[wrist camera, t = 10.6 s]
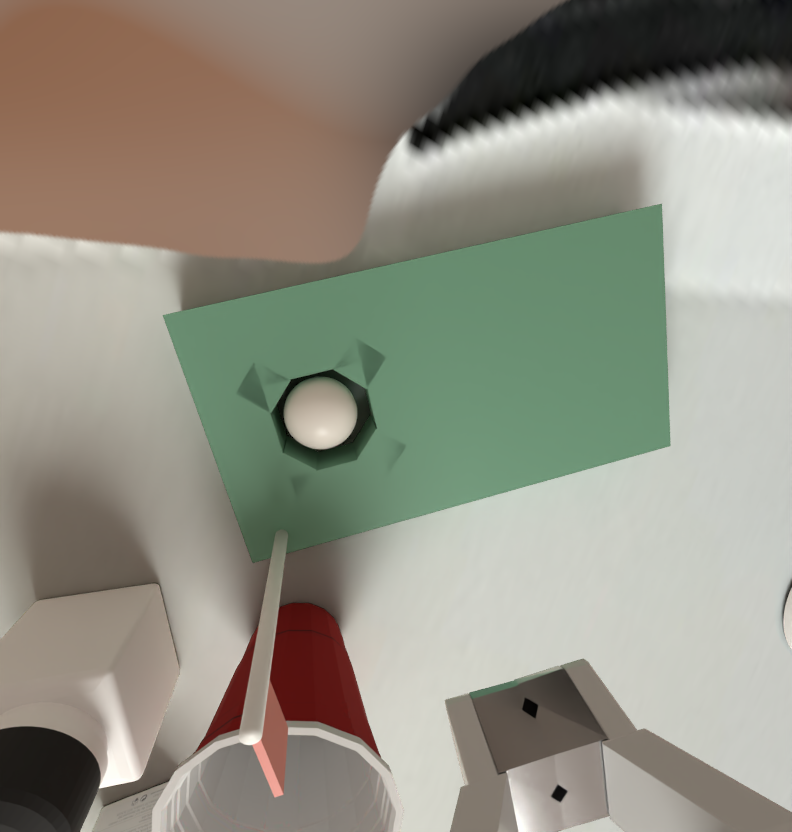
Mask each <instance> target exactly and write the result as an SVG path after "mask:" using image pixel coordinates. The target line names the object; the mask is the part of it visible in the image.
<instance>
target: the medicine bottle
mask: <svg viewBox="0 0 792 832" xmlns="http://www.w3.org/2000/svg"><path fill="white" fill-rule="evenodd" d="M179 675H180V669H179V664H178V660H177V656H176V652H175V648H174V644H173V640H172V636H171V632H170V628H169V623H168V619H167V615H166V611H165V607H164V603H163V599H162V595H161V591H160V587H159V585H158V584H155V583H152V584H145V585H139V586H132V587H125V588H118V589H111V590H105V591H98V592H91V593H84V594H77V595H71V596H64V597H57V598H50V599H44V600H39V601H36V602H35V603H34V604H33V605H32V606H31V607H30V608H29V609H28V610H27V611H26V612H25V613H24V615H23V616H22V617H21V618H20V619H19V620H18V621H17V622H16V623H15V624H14V625H13V627H12V628H11V629H10V630H9V631H8V632H7V633H6V634H5V635H4V636H3V637H2V638H1V640H0V832H80V830H81V828H82V825H83V823H84V821H85V819H86V816H87V814H88V812H89V810H90V807H91V805H92V803H93V801H94V798H95V796H96V794H97V792H98V789H99V788H104V787H109V786H113V785H118V784H123V783H128V782H133V781H136V780H138V779H140V777H141V776H142V775H143V773H144V770H145V767H146V765H147V762H148V759H149V756H150V754H151V751H152V748H153V746H154V743H155V740H156V737H157V735H158V732H159V729H160V726H161V724H162V721H163V718H164V715H165V713H166V710H167V707H168V705H169V702H170V699H171V696H172V694H173V691H174V688H175V685H176V683H177V680H178V677H179Z"/></svg>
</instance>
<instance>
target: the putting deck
mask: <svg viewBox="0 0 792 832" xmlns="http://www.w3.org/2000/svg"><path fill="white" fill-rule="evenodd" d="M163 317H164V320H165V323H166V326H167V328H168V331H169V334H170V337H171V339H172V342H173V345H174V348H175V350H176V353H177V356H178V359H179V361H180V364H181V367H182V370H183V372H184V375H185V378H186V381H187V383H188V386H189V389H190V392H191V394H192V397H193V400H194V403H195V405H196V408H197V411H198V414H199V416H200V419H201V422H202V425H203V427H204V430H205V433H206V436H207V438H208V441H209V444H210V447H211V449H212V452H213V455H214V458H215V460H216V463H217V466H218V469H219V472H220V474H221V477H222V480H223V483H224V485H225V488H226V491H227V494H228V496H229V499H230V502H231V505H232V507H233V510H234V513H235V516H236V518H237V521H238V524H239V527H240V529H241V532H242V535H243V538H244V540H245V543H246V546H247V549H248V551H249V554H250V557H251V560H252V562H253V563H255V562H258V561H262V560H265V559H269V558H271V561H270V567H269V572H268V577H267V583H266V588H265V594H264V599H263V605H262V610H261V616H260V621H259V627H258V632H257V638H256V643H255V649H254V654H253V660H252V665H251V671H250V676H249V682H248V687H247V693H246V698H245V704H244V709H243V715H242V720H241V726H240V731H239V740H240V742H241V743H243V744H245V745H252V746H253V748H254V750H255V753H256V755H257V757H258V760H259V762H260V764H261V767H262V769H263V772H264V774H265V776H266V779H267V781H268V783H269V786H270V788H271V790H272V793H273V795H274V798H275V797H278V796H281V795H283V794H284V781H285V767H286V753H287V739H288V726H287V723H286V721H285V718H284V715H283V713H282V710H281V708H280V705H279V702H278V700H277V697H276V695H275V692H274V689H273V687H272V684H271V682H270V672H271V664H272V656H273V648H274V641H275V633H276V625H277V617H278V610H279V602H280V594H281V586H282V579H283V571H284V563H285V555H286V554H287V553H290V552H294V551H297V550H301V549H304V548H308V547H312V546H315V545H319V544H322V543H326V542H329V541H333V540H337V539H340V538H344V537H347V536H351V535H354V534H358V533H362V532H365V531H369V530H372V529H376V528H379V527H383V526H386V525H390V524H394V523H397V522H401V521H404V520H408V519H411V518H415V517H419V516H422V515H426V514H429V513H433V512H436V511H440V510H444V509H447V508H451V507H454V506H458V505H461V504H465V503H469V502H472V501H476V500H479V499H483V498H486V497H490V496H493V495H497V494H501V493H504V492H508V491H511V490H515V489H518V488H522V487H526V486H529V485H533V484H536V483H540V482H543V481H547V480H551V479H554V478H558V477H561V476H565V475H568V474H572V473H576V472H579V471H583V470H586V469H590V468H593V467H597V466H600V465H604V464H608V463H611V462H615V461H618V460H622V459H625V458H629V457H633V456H636V455H640V454H643V453H647V452H650V451H654V450H658V449H661V448H665V447H668V446H670V420H669V392H668V364H667V335H666V307H665V278H664V250H663V222H662V204H658V205H654V206H650V207H645V208H641V209H636V210H632V211H627V212H623V213H618V214H614V215H609V216H605V217H600V218H596V219H591V220H587V221H582V222H578V223H573V224H569V225H565V226H560V227H556V228H551V229H547V230H542V231H538V232H533V233H529V234H524V235H520V236H515V237H511V238H506V239H502V240H497V241H493V242H488V243H484V244H480V245H475V246H471V247H466V248H462V249H457V250H453V251H448V252H444V253H439V254H435V255H430V256H426V257H421V258H417V259H412V260H408V261H403V262H399V263H394V264H390V265H386V266H381V267H377V268H372V269H368V270H363V271H359V272H354V273H350V274H345V275H341V276H336V277H332V278H327V279H323V280H318V281H314V282H309V283H305V284H301V285H296V286H292V287H287V288H283V289H278V290H274V291H269V292H265V293H260V294H256V295H251V296H247V297H242V298H238V299H233V300H229V301H224V302H220V303H216V304H211V305H207V306H202V307H198V308H193V309H189V310H184V311H180V312H175V313H171V314H166V315H163ZM332 369H334V370H335V371H336V372H338V373H340V374H342V375H343V376H345V377H347V378H348V379H350V380H352V381H353V382H355V383H357V384H359V385H360V386H362V387H364V388H365V391H366V395H367V399H368V404H369V408H370V412H371V415H370V416H369V418H368V419H367V421H366V422H365V424H364V426H363V427H362V429H361V430H360V432H359V433H358V435H357V437H356V438H355V440H354V441H353V443H350V444H346V445H342V446H338V447H335V448H331V449H327V450H323V451H319V452H317V451H315V450H313V449H312V448H309V447H306V446H304V445H302V444H300V443H299V442H298V441H296V440H294V439H293V438H291V437H289V436H286V432H285V429H284V426H283V423H282V419H281V416H280V413H279V409H278V406H277V402H278V401H279V399H280V397H281V396H282V394H283V392H284V391H285V389H286V387H287V386H288V384H289V382H290V380H291V379H295V378H299V377H303V376H307V375H311V374H315V373H319V372H323V371H327V370H332Z"/></svg>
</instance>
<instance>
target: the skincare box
mask: <svg viewBox="0 0 792 832" xmlns="http://www.w3.org/2000/svg"><path fill="white" fill-rule="evenodd" d="M167 784H168V782H166V783H164V784H161V785H158V786H156V787H153V788H151V789H148V790H145V791H143V792H140V793H138V794H135V795H133V796H130V797H127V798H125V799H122V800H120V801H117V802H115V803H112V804H110V805H107V806H105V807H103V808H102V810H101V812H100V814H99V817H98V819H97V821H96V824H95V826H94V828H93V831H92V832H152V810H153V808H154V806H155V804H156V803H157V801H158V799H159V798H160V796H161V794H162V793H163V791H164V789H165V787H166V786H167Z"/></svg>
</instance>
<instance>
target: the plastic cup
mask: <svg viewBox="0 0 792 832" xmlns="http://www.w3.org/2000/svg"><path fill="white" fill-rule="evenodd" d="M258 627H259V625H258ZM258 627H257V629H256V630H255V632H254V634H253V635H252V637H251V639H250V642H249V644H248V646H247V649H246V651H245V654H244V656H243V658H242V660H241V662H240V663H239V665H238V667H237V669H236V670H235V673H234V675H233V677H232V679H231V681H230V684H229V686H228V688H227V690H226V692H225V694H224V697H223V699H222V701H221V703H220V705H219V707H218V710H217V712H216V714H215V716H214V718H213V721H212V723H211V725H210V727H209V729H208V731H207V734H206V736H205V737H204V739H203V740H202V742H201V743H200V745H199V747H198V748H197V750H196V752H194V753H193V755H192V756H190V757H189V758H188V759H186V760H185V761H184V762H182V763H181V764H180V765H179V767H178V768H177V769H176V771H175V772H174V774H173V776H172V777H171V779H170V781H169V782H168V784H167V786H166V787H165V789H164V791H163V793H162V794H161V796H160V798H159V799H158V801H157V803H156V804H155V806H154V808H153V810H152V832H400V830H401V825H402V819H403V813H404V808H403V805H402V802H401V799H400V796H399V793H398V790H397V787H396V784H395V781H394V778H393V775H392V773H391V770H390V767H389V765H388V764H387V763H386V762H385V761H384V760H383V759H381V756H380V754H379V752H378V749H377V746H376V743H375V740H374V737H373V735H372V732H371V729H370V726H369V723H368V720H367V716H366V713H365V709H364V706H363V702H362V699H361V695H360V692H359V688H358V685H357V681H356V678H355V674H354V671H353V667H352V665H351V662H350V659H349V656H348V653H347V651H346V648H345V645H344V641H343V638H342V635H341V632H340V629H339V626H338V624H337V623H336V621H335V619H334V618H333V617H332V616H331V615H330V614H329V613H328V612H327V611H326V610H325V609H323V608H321V607H318V606H316V605H313V604H310V603H291V604H288V605H285V606H282V607H279V610H278V617H277V625H276V633H275V641H274V648H273V656H272V664H271V672H270V682H271V684H272V687H273V689H274V692H275V695H276V697H277V700H278V702H279V705H280V708H281V710H282V713H283V715H284V718H285V721H286V723H287V726H288V739H287V753H286V767H285V781H284V794H283V795H281V796H278V797H275V798H274V795H273V793H272V790H271V788H270V786H269V783H268V781H267V779H266V776H265V774H264V772H263V769H262V767H261V764H260V762H259V760H258V757H257V755H256V753H255V750H254V748H253V746H252V745H245V744H243V743H241V742H240V740H239V731H240V726H241V720H242V715H243V709H244V704H245V698H246V693H247V687H248V682H249V676H250V671H251V665H252V660H253V654H254V649H255V643H256V638H257V632H258Z"/></svg>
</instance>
